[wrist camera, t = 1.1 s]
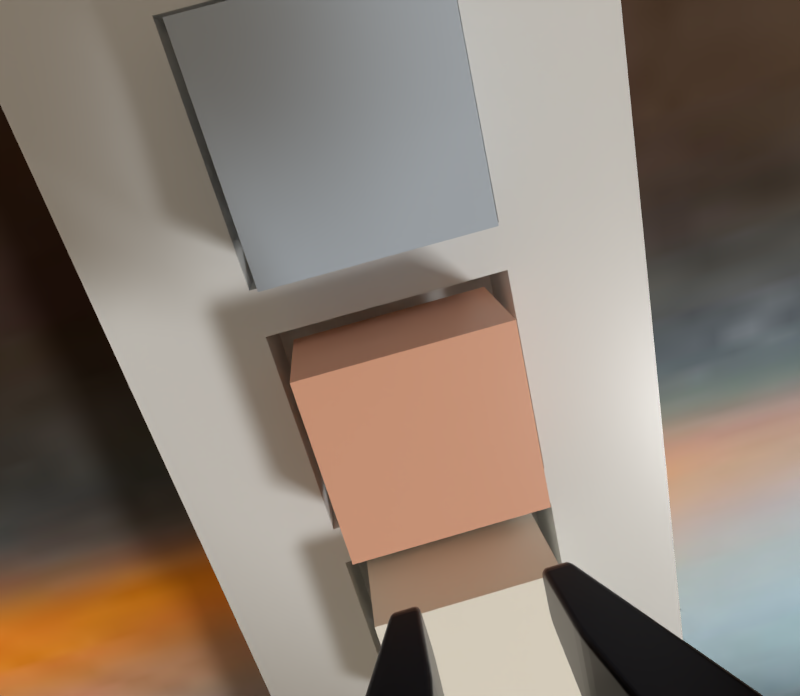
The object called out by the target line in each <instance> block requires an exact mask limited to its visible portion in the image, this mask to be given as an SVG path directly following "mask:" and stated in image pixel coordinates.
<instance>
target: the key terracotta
mask: <svg viewBox="0 0 800 696" xmlns="http://www.w3.org/2000/svg"><path fill="white" fill-rule="evenodd" d="M290 385H291V388H292V391H293V394H294V397H295V400H296V403H297V406H298V408H299V411H300V414H301V417H302V420H303V423H304V426H305V429H306V431H307V434H308V437H309V440H310V443H311V446H312V449H313V452H314V454H315V457H316V460H317V463H318V466H319V469H320V472H321V475H322V477H323V480H324V483H325V486H326V489H327V492H328V495H329V498H330V500H331V503H332V506H333V509H334V512H335V515H336V518H337V521H338V523H339V526H340V529H341V532H342V535H343V538H344V541H345V544H346V546H347V549H348V552H349V555H350V558H351V561H352V564H353V565H354V564H357V563H361V562H364V561H368V560H371V559H374V558H378V557H381V556H385V555H388V554H392V553H395V552H399V551H402V550H405V549H409V548H412V547H416V546H419V545H423V544H426V543H430V542H433V541H436V540H440V539H443V538H447V537H450V536H454V535H457V534H461V533H464V532H467V531H471V530H474V529H478V528H481V527H485V526H488V525H492V524H495V523H498V522H502V521H505V520H509V519H512V518H516V517H519V516H523V515H526V514H529V513H533V512H536V511H540V510H543V509H547V508H550V507H551V505H550V499H549V494H548V489H547V483H546V478H545V473H544V467H543V462H542V456H541V451H540V446H539V440H538V435H537V430H536V424H535V419H534V413H533V408H532V403H531V397H530V392H529V386H528V381H527V376H526V370H525V365H524V360H523V354H522V349H521V343H520V338H519V333H518V327H517V322H516V319H515V318H514V317H513V316H512V315H511V314H510V313H509V312H508V311H507V310H506V309H505V308H504V307H503V306H502V305H501V304H500V303H499V302H498V301H497V300H496V299H495V298H494V296H493V295H492V294H491V293H490V292H489V291H488V290H487V289H486V288H485V287H481V288H478V289H474V290H470V291H467V292H463V293H460V294H456V295H452V296H449V297H445V298H442V299H438V300H434V301H431V302H427V303H424V304H420V305H416V306H413V307H409V308H406V309H402V310H398V311H395V312H391V313H388V314H384V315H380V316H377V317H373V318H370V319H366V320H362V321H359V322H355V323H352V324H348V325H344V326H341V327H337V328H334V329H330V330H326V331H323V332H319V333H316V334H312V335H308V336H305V337H301V338H298V339H294V341H293V352H292V363H291V374H290Z"/></svg>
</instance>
